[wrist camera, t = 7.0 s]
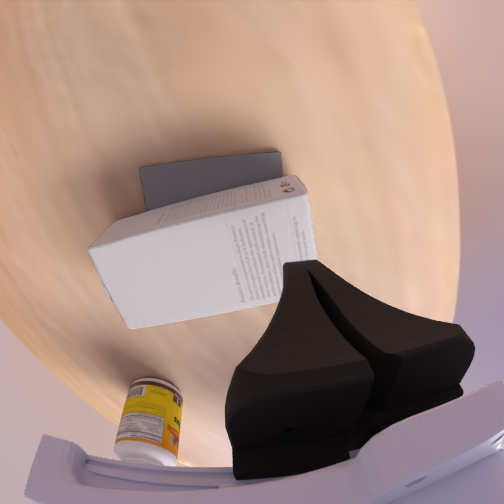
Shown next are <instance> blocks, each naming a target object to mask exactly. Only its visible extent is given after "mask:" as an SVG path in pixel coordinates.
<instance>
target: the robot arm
mask: <svg viewBox="0 0 504 504" xmlns="http://www.w3.org/2000/svg"><path fill="white" fill-rule="evenodd" d="M474 352H475V346H474V343H473V341H472V340H471V339H470V338H469V336H468V335H467V334H466V332H465V331H464V330H463V329H462V327H461V326H460V325H458V324H452V323H447V322H441V321H436V320H431V319H428V318H424V317H420V316H417V315H414V314H411V313H408V312H405V311H402V310H400V309H397V308H395V307H392V306H390V305H387V304H385V303H383V302H381V301H379V300H377V299H375V298H373V297H371V296H369V295H368V294H366V293H364V292H362V291H361V290H359V289H357V288H356V287H354V286H353V285H351V284H350V283H348V282H347V281H345V280H344V279H342V278H341V277H340V276H338V275H337V274H335V273H334V272H333V271H331V270H330V269H329V268H327V267H326V266H325V265H323V264H322V263H321V262H319V261H318V260H316V259H315V260H305V261H295V262H285V263H284V264H283V290H282V294H281V297H280V300H279V304H278V306H277V309H276V311H275V314H274V316H273V318H272V320H271V322H270V324H269V326H268V328H267V329H266V331H265V333H264V334H263V336H262V337H261V339H260V340H259V341H258V343H257V344H256V345H255V347H254V348H253V349H252V351H251V352H250V353H249V354H248V355H247V356H246V357H245V358H244V359H243V360H242V361H241V363H240V364H239V365H238V366H237V367H236V369H235V372H234V374H233V377H232V380H231V383H230V386H229V389H228V393H227V397H226V404H225V427H226V430H227V433H228V436H229V440H230V443H231V446H232V455H233V467H175V466H161V465H150V464H141V463H133V462H126V461H119V460H113V459H107V458H101V457H97V456H92V455H87V454H86V452H85V451H84V450H83V449H82V448H81V447H80V446H78V445H77V444H75V443H73V442H71V441H68V440H64V439H60V438H56V437H53V436H49V435H46V434H45V435H43V436H42V439H41V441H40V444H39V447H38V450H37V453H36V456H35V458H34V461H33V465H32V468H31V471H30V474H29V477H28V481H27V485H26V488H25V492H24V495H25V497H27V498H29V499H30V500H32V501H34V502H35V503H37V504H504V384H503V383H502V381H498V382H493V383H490V384H487V385H485V386H483V387H481V388H479V389H477V390H475V391H473V392H470V393H468V394H466V395H464V396H462V395H463V389H462V388H461V386H460V384H459V383H460V382H461V380H462V378H463V377H464V375H465V373H466V371H467V370H468V368H469V366H470V364H471V362H472V360H473V357H474ZM460 396H462V397H460Z"/></svg>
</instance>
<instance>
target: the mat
mask: <svg viewBox="0 0 504 504" xmlns="http://www.w3.org/2000/svg"><path fill="white" fill-rule="evenodd" d="M139 170H140V176H141V182H142V188H143V193H144V199H145V204H146V209H147V211H150V210H153V209H157V208H160V207H164V206H167V205H171V204H175V203H178V202H182V201H186V200H189V199H193V198H197V197H201V196H204V195H208V194H212V193H216V192H220V191H224V190H228V189H232V188H237V187H241V186H245V185H250V184H254V183H258V182H263V181H267V180H272V179H276V178H281V177H282V164H281V152H269V153H255V154H242V155H231V156H222V157H212V158H204V159H195V160H188V161H180V162H173V163H166V164H160V165H154V166H148V167H142V168H139Z"/></svg>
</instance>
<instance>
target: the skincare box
mask: <svg viewBox="0 0 504 504" xmlns="http://www.w3.org/2000/svg"><path fill="white" fill-rule="evenodd" d="M87 251H88V253H89V255H90V257H91V259H92V261H93V263H94V265H95V268H96V270H97V272H98V274H99V276H100V278H101V281H102V284H103V287H104V289H105V291H106V293H107V295H108V297H109V298H110V300H111V301H112V303H113V304H114V305H115V306H116V308H117V310H118V312H119V313H120V315H121V317H122V319H123V321H124V322H125V324H126V326H127V327H128V329H130V330H133V329H138V328H144V327H150V326H157V325H163V324H168V323H174V322H180V321H185V320H191V319H196V318H202V317H207V316H213V315H218V314H223V313H228V312H233V311H239V310H243V309H248V308H253V307H257V306H262V305H266V304H271V303H275V302H279V300H280V297H281V294H282V290H283V264H284V263H285V262H295V261H305V260H315V259H316V260H318V259H317V251H316V243H315V235H314V228H313V221H312V215H311V209H310V203H309V196H308V191H307V189H306V187H305V185H304V184H303V183H302V181H301V180H300V179H299V178H298V177H297V176H296V175H289V176H284V177H281V178H276V179H272V180H267V181H263V182H258V183H254V184H250V185H245V186H241V187H237V188H232V189H228V190H224V191H220V192H216V193H212V194H208V195H204V196H201V197H197V198H193V199H189V200H186V201H182V202H178V203H175V204H171V205H167V206H164V207H160V208H157V209H153V210H150V211H147V212H144V213H141V214H138V215H134V216H130V217H127V218H124V219H120V220H117V221H115V222H114V223H113V224H112V225H110V226H109V227H108V228H107V229H106V230H105V231H104V232H103V233H102V234H101V235H100V236H99V237H98V238H97V239H96V240H95V241H94V242H93V243H92V244H91V245H90V246H89V247H88V248H87Z"/></svg>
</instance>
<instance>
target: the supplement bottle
mask: <svg viewBox="0 0 504 504" xmlns="http://www.w3.org/2000/svg"><path fill="white" fill-rule="evenodd" d="M182 405H183V398H182V395H181V393H180V392H179V390H178V389H177V388H176V387H175V386H173V385H172V384H170V383H168V382H166V381H163V380H160V379H156V378H141V379H138V380H136V381H134V382H133V383H132V384H131V386H130V388H129V391H128V395H127V398H126V402H125V405H124V409H123V413H122V417H121V421H120V425H119V429H118V433H117V437H116V442H115V447H114V451H115V453H116V455H117V457H118V458H119V459H121V461H126V462H133V463H141V464H150V465H161V466H176V463H177V456H178V444H179V434H180V424H181V415H182Z"/></svg>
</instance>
